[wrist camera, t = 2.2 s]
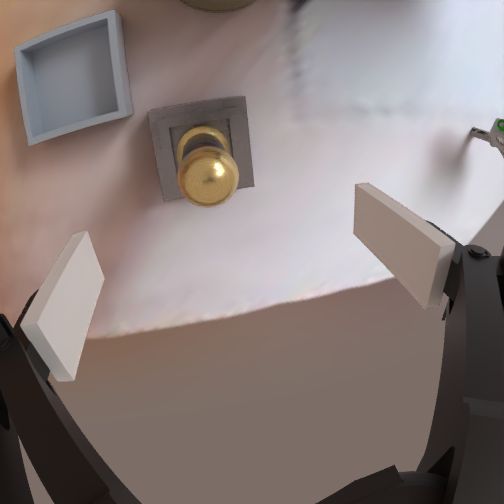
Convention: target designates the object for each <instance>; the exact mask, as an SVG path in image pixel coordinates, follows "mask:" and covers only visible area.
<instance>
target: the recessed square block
mask: <svg viewBox="0 0 504 504" xmlns="http://www.w3.org/2000/svg"><path fill="white" fill-rule="evenodd" d="M148 118H149V124H150V130H151V136H152V142H153V147H154V153H155V158H156V164H157V169H158V174H159V179H160V184H161V189H162V194H163V199H164V202H165V201H170V200H175V199H181V198H185V197H184V196H183V194H182V193H181V191H180V189H179V186H178V181H177V173H178V169H179V166H180V164H179V162H178V159H177V147H178V143H179V140H180V138H181V136H182V135H183V134H184V133H185V132H186V131H187V130H188V129H190V128H192V127H194V126H197V125H209V126H213V127H215V128H216V129H218V130H219V131H220V132H221V133H222V134H223V135H224V137H225V138H226V140H227V142H228V144H229V149H230V154H229V155H230V156H231V157H232V158H233V159H234V161H235V163H236V165H237V167H238V172H239V181H238V186H237V188H236V189H240V188H247V187H254V178H253V168H252V157H251V148H250V138H249V128H248V118H247V108H246V99H245V96H234V97H226V98H218V99H211V100H204V101H197V102H191V103H185V104H179V105H174V106H168V107H163V108H158V109H153V110H150V111H148Z"/></svg>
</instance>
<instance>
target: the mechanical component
mask: <svg viewBox="0 0 504 504" xmlns="http://www.w3.org/2000/svg"><path fill="white" fill-rule="evenodd" d="M473 129H474V130H475V132H474V131H471V135H472V136H473V137H476V138H479V139H482V140H485V141H488V142H489V143H490V145H491V146H492V147H497V148H498V149H499V151H500V153H501V154H502V156H503V158H504V120H503V119H499V118H497V119H496V120H495V122H494V124H493V126H492V128H491V130H490V132H487V131H484V130H481V129H478V128H475V127H473Z"/></svg>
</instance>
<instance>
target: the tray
mask: <svg viewBox="0 0 504 504" xmlns="http://www.w3.org/2000/svg"><path fill="white" fill-rule="evenodd" d="M14 51H15V63H16V73H17V82H18V90H19V97H20V103H21V109H22V115H23V121H24V126H25V131H26V136H27V141H28V145H29V146H31V145H34V144H37V143H40V142H42V141H45V140H48V139H51V138H54V137H57V136H60V135H63V134H66V133H69V132H73V131H76V130H79V129H82V128H86V127H89V126H93V125H96V124H100V123H104V122H107V121H111V120H115V119H119V118H123V117H127V116H130V115H132V114H134V112H133V106H132V100H131V93H130V86H129V79H128V71H127V64H126V55H125V46H124V37H123V27H122V16H121V15H120V14H119V13H118V12H117V11H116V10H115V9H114V10H110V11H107V12H103V13H100V14H97V15H93V16H90V17H87V18H84V19H81V20H78V21H75V22H73V23H70V24H67V25H64V26H62V27H59V28H57V29H54V30H52V31H49V32H47V33H44V34H42V35H40V36H37V37H35V38H33V39H31V40H29V41H26V42H24V43H22V44H20V45H18V46H16V47H14Z"/></svg>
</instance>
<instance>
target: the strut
mask: <svg viewBox="0 0 504 504" xmlns="http://www.w3.org/2000/svg"><path fill="white" fill-rule="evenodd" d="M229 154H230V149H229V144H228V142H227V140H226V138H225V137H224V135H223V134H222V133H221V132H220V131H219V130H218V129H216V128H215V127H213V126H209V125H197V126H194V127H192V128H190V129H188V130H187V131H186V132H185V133H184V134H183V135H182V136H181V138H180V140H179V143H178V147H177V159H178V162H179V164H180V166H179V169H178V173H177V181H178V186H179V189H180V191H181V193H182V194H183V196H184V197H185V198H186V199H187V200H188V201H189V202H191V203H192V204H194V205H197V206H200V207H215V206H218V205H221V204H223V203H224V202H226V201H227V200H228V199H229V198H230V197H231V196H232V195H233V194H234V192H235V190H236V188H237V186H238V181H239V172H238V167H237V165H236V163H235V161H234V159H233V158H232V157H231V156H230V155H229Z"/></svg>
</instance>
